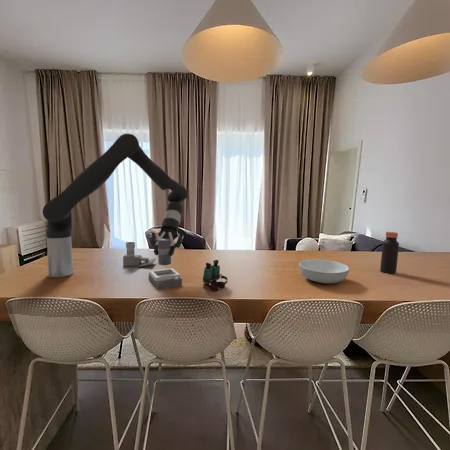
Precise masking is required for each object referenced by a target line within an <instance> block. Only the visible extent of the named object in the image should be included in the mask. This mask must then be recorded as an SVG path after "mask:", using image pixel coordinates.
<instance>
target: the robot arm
mask: <svg viewBox="0 0 450 450" xmlns="http://www.w3.org/2000/svg"><path fill="white" fill-rule="evenodd" d="M139 142H140V141H139V140H138V138H137V137H136V136H135V135H134V134H133V133H123V134H121V135H119V136H118V138H117V139H116V140H115V141H114V142H113V144H111V146H110V147H108V149H107V150H106V151H105V152H103V154H101V155H100V156H99V157H98V158H96V159H95V160H94V161H92V163H91V164H89V165H88V166H87V167H86V168H85V169H83V170H82V171H81V172H80V173H79V174H78V175H77V177H75V179H73V180H72V182H71V183H70V184H69V185H68V186H67V187H66V188H65V189H64V190H63V191H61V193H59V194H57V195H56V196H55V197H54V198H52V199H50V200H49V201H47V203H46V204H44V206H43V207H42V216H43V217H44V219H45V220H47V230H46V232H45V233H46V245H47V268H48V269H47V270H48V272H47V273H48V278H65V277H68V276H71V275H73V274H74V263H73V245H72V244H73V243H72V242H73V241H72V229H73V226H72V224H73V221H72V218H73V217H72V210H73V209H74V208H75V206H77V205H78V204H79V203H80V202H81V201H83V200H84V199H85V198H87V197H89V196H90V195H92V194H93V193H94V192H96V191H97V190H98V189H100V187H101V186H102V185H103V184H104V183H106V181H107V180H109V178H110V177H111V176H112V174H113V173H114V172H115V170H116V169H117V168H118V167H119V165H120V164H121V163H122V162H124V161H125V160H126V159H127V158H129V159H130V160H131V161H132V162H134V164H136V165H137V166H138V167H139V168H140V169H141V170H142V171H143V172H144V173H145V174H146V175H147V176H148V177H149V178H150V179H151V181H152V182H154V184H155V185H157V187H158V188H159V189H160V190H161V191H166V190H170V192H169V194H168V195H167V196H166V197H167V198H166V210H165V213H164V216H163V218H162V219H163V220H162V222H161V226H160V231H158V232H157V233H155V231H154V232H151V245H152V247H154V248H153V253H154V255H155V256H158V240H159V239H170V240H171V247H170V252H169V255H170V256H171V257H172V256H174V253H175V251H176V250H175V249H176V248H180V247H181V246H182V243H183V241H184V238H185V236H184V233H182V232H181V233H179V232H178V231H179V228H180V224H181V219H182V218H181V217H182V211H183V206H182V204H181V203H182V202H183V201H185V200H186V199H188V197H189V192H188V190H187V188H186V187H185V186H183V185H182V184H181V183H179V182H177V181H176V180H174V179H172V178H171V177H170V176H169V174H167V172H166V171H164V169H163V168H161V166H159V165H158V164H157V163H156V162H154V161H153V159H151V158H150V157H149V156H148V155H147V153H145V151H144V150H143V149H142V147H141V146H140V143H139ZM177 238H178V239H177ZM176 239H177V240H176ZM175 240H176V243H175Z"/></svg>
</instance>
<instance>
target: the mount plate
mask: <svg viewBox="0 0 450 450" xmlns="http://www.w3.org/2000/svg"><path fill="white" fill-rule="evenodd" d="M148 280H149V281H150V282H151V283H152V284H153V286H155V288H156V289H157V290H161V289H166V288H172V287H179V286H182V285H183V279H182V278H181V273H179V272H178V271H177V270H176V269H174V268H172V267H171V268H163V269H156V270H149V272H148Z"/></svg>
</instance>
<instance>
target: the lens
mask: <svg viewBox="0 0 450 450" xmlns="http://www.w3.org/2000/svg"><path fill="white" fill-rule="evenodd" d="M158 239H159V238H158ZM158 239H157V241H158V255H157V261H158V264H157V265H159V266H169V265H172V256H170V255H169V252H170V247H171V246H172V244H171V240H170V239H159V240H158Z"/></svg>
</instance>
